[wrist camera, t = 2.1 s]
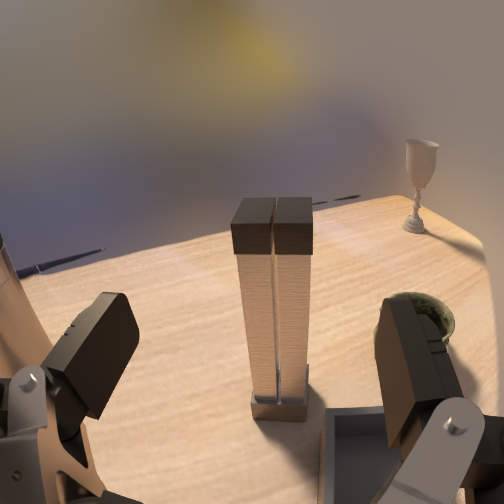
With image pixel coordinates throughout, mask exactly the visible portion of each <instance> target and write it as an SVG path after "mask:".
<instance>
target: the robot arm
mask: <svg viewBox="0 0 504 504" xmlns="http://www.w3.org/2000/svg"><path fill="white" fill-rule="evenodd" d="M138 343H139V328H138V325H137V323H136V320H135V318H134V315H133V312H132V310H131V307H130V304H129V302H128V299H127V297H126V295H125V294H123V293H113V292H102V293H101V294H100V295H99V296H98V297H97V298H96V300H95V301H94V302H93V303H92V305H90V306H89V307H88V308H86V309H85V310H84V311H82V312H81V313H80V314H79V315H78V316H77V317H76V318H75V320H74V321H73V322H72V323H71V327H68V329H67V330H66V331H65V333H64V335H62V336H61V338H60V339H59V340H58V342H57V343H56V345H55V346H53V344H52V343H51V341H50V340H49V338H48V336H47V334H46V332H45V331H44V329H43V327H42V325H41V323H40V321H39V320H38V318H37V316H36V314H35V312H34V310H33V308H32V306H31V304H30V302H29V300H28V298H27V296H26V294H25V292H24V289H23V287H22V285H21V283H20V281H19V278H18V276H17V274H16V272H15V269H14V267H13V265H12V262H11V260H10V257H9V255H8V252H7V250H6V247H5V245H4V242H3V239H2V237H1V234H0V504H143V503H142V502H139V501H136V500H133V499H130V498H127V497H124V496H121V495H118V494H115V493H112V492H110V491H107V489H106V487H105V485H104V484H103V482H102V481H101V480H100V478H99V476H98V474H97V472H96V469H95V465H94V461H93V457H92V453H91V449H90V444H89V440H88V435H87V431H86V427H85V424H84V423H83V422H82V421H83V420H84V418H85V416H87V417H90V418H93V419H97V420H99V418H100V416H101V414H102V412H103V410H104V408H105V406H106V404H107V402H108V400H109V398H110V396H111V395H112V393H113V391H114V389H115V387H116V385H117V383H118V381H119V379H120V377H121V375H122V374H123V372H124V370H125V368H126V366H127V364H128V362H129V360H130V359H131V357H132V355H133V353H134V351H135V349H136V348H137V346H138ZM375 359H376V364H377V370H378V376H379V381H380V388H381V394H382V400H383V407H384V414H385V422H386V430H387V438H388V447H389V449H392V448H400V447H401V454H402V459H401V460H400V461H399V463H398V464H397V466H396V467H395V469H394V470H393V472H392V473H391V475H390V476H389V477H388V479H387V480H386V482H385V483H384V484H383V486H382V487H381V488H380V490H379V491H378V492H377V494H376V495H375V496H374V498H373V499H372V500H371V502H370V503H369V504H451V503H452V500H453V498H454V496H455V495H456V493H457V491H458V489H459V488H464V490H465V501H466V504H504V417H497V416H488V415H484V414H483V413H482V411H481V410H480V408H479V407H478V406H477V405H476V404H475V403H473V402H472V401H470V400H468V399H465V398H464V396H463V394H462V391H461V388H460V385H459V382H458V379H457V376H456V373H455V371H454V368H453V365H452V362H451V360H450V357H449V354H448V353H447V349H446V347H445V344H444V342H442V337H441V334H440V332H439V330H438V327H437V325H436V324H435V323H434V322H433V321H432V320H431V319H430V318H429V317H428V316H427V315H426V314H419V315H417V313H416V311H415V308H414V306H413V303H412V301H411V299H410V298H385V299H384V300H383V303H382V308H381V313H380V318H379V323H378V328H377V332H376V337H375Z"/></svg>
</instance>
